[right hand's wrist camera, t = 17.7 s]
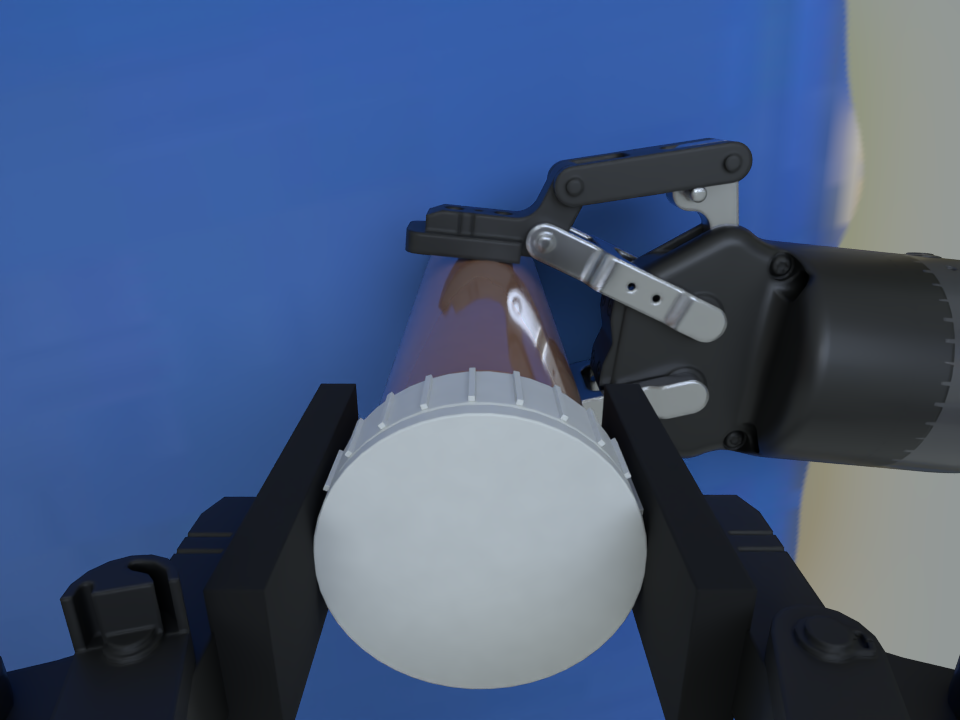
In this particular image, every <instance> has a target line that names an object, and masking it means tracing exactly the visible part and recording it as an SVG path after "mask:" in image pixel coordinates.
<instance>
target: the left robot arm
mask: <svg viewBox="0 0 960 720" xmlns="http://www.w3.org/2000/svg"><path fill="white" fill-rule="evenodd" d="M751 166H752V154H751V151H750V150H749V148H748V147H747V146H746V145H745V144H743V143H740V142H735V141H727V140H720V139H713V138H705V139H698V140H692V141H685V142H679V143H672V144H666V145H659V146H653V147H646V148H640V149H633V150H627V151H620V152H614V153H607V154H601V155H594V156H588V157H581V158H575V159H568V160H562V161H559V162H557V163H555V164H554V165H553V166H552V167H551V168H550V170H549V172H548V176H547V180H546V182H545V184H544V186H543V188H542V190H541V192H540V194H539V196H538V198H537V200H536V201H535V203H534V204H533V205H532V206H530V207H529V208H527V209H525V210H522V211H507V210H497V209H488V208H478V207H468V206H459V205H449V204H443V205H440V206H436V207H433V208H430V209H429V211H428V213H427V215H426V221H411V222H410V224H409V225H408V227H407V232H406V248H405V250H406V251H408V252H411V253H416V254H424V255H434V256H444V257H454V258H464V259H473V260H487V261H495V262H503V263H513V264H520V258H521V256H525V257H533V258H534V259H536V260H538V261H540V262H542V263H544V264H546V265H548V266H550V267H553V268H555V269H557V270H559V271H561V272H563V273H565V274H567V275H569V276H571V277H574V278H576V279H578V280H580V281H582V282H583V283H585V284H586V285H588V286H589V287H590V288H592V289H594V290H595V291H597V292H599V293H601V294H602V297H601V303H600V307H601V317H602V327H601V330H600V332H599V334H598V336H597V338H596V340H595V342H594V344H593V349H592V355H591V359H589V360H585V361H580V362H576V363H572V364H569V365H570V368H571V371H572V374H573V377H574V380H575V382H576V385H577V388H578V391H579V394H580V397H581V400H582V403H583V406H584V409H585V410H588V409H589V408H591V409H592V410H593V411H594V414H595V416H596V419H597V422H598V423H599V424H600V425H601V426H602V412H603V399H604V385H605V384H640V386H641V388H642V389H643V391H644V393H645V395H646V396H647V398H648V400H649V402H650V403H651V405H652V407H653V409H654V410H655V412H656V414H657V416H658V417H659V419H660V421H661V423H662V424H663V426H664V428H665V429H666V431H667V433H668V435H669V436H670V438H671V440H672V442H673V443H674V445H675V447H676V449H677V450H678V452H679V454H680V456H681V457H682V458H691V457H695V456H698V455H701V454H703V453H706V452H710V451H714V450H731V451H736V452H741V453H745V454H749V455H754V456H759V457H768V458H779V459H790V460H801V461H812V462H823V463H834V464H846V465H857V466H868V467H879V468H890V469H901V470H911V471H922V472H936V473H960V260H954V259H944V258H941V257H939V256H935V255H933V254H929V253H906V254H895V253H885V252H875V251H866V250H857V249H847V248H837V247H828V246H818V245H808V244H798V243H789V242H779V241H770V240H764V239H760V238H758V237H757V236H755V235H754V234H753V233H752V232H751V231H749V230H748V229H746V228H744V227H742V226H739V203H738V181H740V180H741V179H743V178H744V177H745V176H746V175H747V174H748V172H749V171H750V169H751ZM663 193H666V196H667V199H668V200H669V201H670V203H672V204H673V205H675V206H677V207H679V208H681V209H683V210H686V211H696V212H697V213H698V214H699V215H700V218H701V222H702V223H701V224H699V225H697V226H696V227H694V228H692V229H690V230H688V231H686V232H685V233H683V234H681V235H679V236H677V237H675V238H674V239H672V240H670V241H668V242H666V243H664V244H663V245H661V246H659V247H657V248H655V249H653V250H652V251H650V252H648V253H646V254H644V255H642V256H641V257H638V256H636V255H634V254H631V253H629V252H627V251H625V250H623V249H621V248H619V247H617V246H615V245H613V244H611V243H609V242H607V241H605V240H603V239H601V238H599V237H596V236H594V235H590V234H588V233H585V232H583V231H581V230H579V229H577V228H575V227H573V226H572V225H573V223H574V221H575V219H576V217H577V215H578V214H579V212H580V210H581V208H582V206H583V205H590V204H596V203H603V202H610V201H616V200H623V199H630V198H636V197H643V196H650V195H656V194H663ZM592 376H593V377H592Z"/></svg>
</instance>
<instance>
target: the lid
mask: <svg viewBox="0 0 960 720" xmlns="http://www.w3.org/2000/svg"><path fill="white" fill-rule="evenodd" d="M323 490H325V491H327V495H326V497H325V500H324V502H323V505H322V508H321V510H320V513H319V515H318V518H317V523H316V528H315V533H314V543H313V553H314V562H315V571H316V577H317V581H318V585H319V588H320V591H321V594H322V596H323V598H324V600H325V603H326V605H327V607H328V609H329V610H330V612H331V613H332V615H333V617H334V618H335V620H336V621H337V623H338V624H339V625H340V626H341V628H342V629H343V630H344V631H345V632H346V634H347V635H348V636H349V637H350V638H351V639H352V640H353V641H354V642H355V643H357V644H358V645H359V646H360V647H361V648H362V649H363V650H364V651H366V652H367V653H369V654H370V655H371V656H373V657H374V658H376V659H377V660H378V661H380V662H382V663H384V664H385V665H387V666H389V667H391V668H393V669H394V670H397V671H399V672H401V673H404V674H406V675H408V676H411V677H413V678H416V679H420V680H423V681H426V682H430V683H433V684H438V685H444V686H449V687H456V688H467V689H494V688H504V687H512V686H517V685H522V684H527V683H531V682H534V681H538V680H541V679H544V678H547V677H550V676H552V675H554V674H557V673H559V672H561V671H564V670H566V669H568V668H570V667H571V666H573V665H575V664H577V663H578V662H580V661H582V660H584V659H585V658H586V657H588V656H589V655H590V654H592V653H593V652H595V651H596V650H597V649H599V648H600V647H601V646H602V645H603V644H604V643H605V642H606V641H607V640H608V639H609V638H610V637H611V636H612V635H613V634H614V633H615V632H616V631H617V629H618V628H619V627H620V626H621V624H622V623H623V622H624V621H625V619H626V617H627V616H628V614H629V612H630V611H631V609H632V608H633V606H634V604H635V601H636V599H637V597H638V594H639V592H640V590H641V586H642V583H643V579H644V575H645V566H646V557H647V535H646V530H645V526H644V521H643V517H642V515H643V507H642V504H641V502H640V499H639V497H638V494H637V492H636V489H635V487H634V484H633V482H632V480H631V474H630V472H629V470H628V467H627V465H626V462H625V460H624V457H623V455H622V452H621V450H620V448H619V445H618V443H617V441H616V439H615V438H613V439H611V440H610V438H609V436H608V435H607V433H606V432H605V430H604V429H603V428H602V427H601V425H600V424H599V423H598V422H597V419H596V416H595V414H594V411H593V410H592V409H591V408H589V409H588V410H585V409H584V408H583V407H582V406H581V405H579V404H578V403H577V402H575V401H574V400H573V399H571V398H570V397H568V396H567V395H565V394H563V393H562V392H561V388H560V387H559V386H557V385H554V387H553V388H552V387H550V386H548V385H546V384H543V383H540V382H538V381H535V380H532V379H530V378H526V377H521V376H520V372H518V371H513V374H508V373H499V372H491V371H476V369H475V368H469V372H461V373H453V374H447V375H443V376H439V377H435V378H433V377H432V375H428V376H426V378H425V381H423V382H420V383H418V384H415V385H412V386H410V387H408V388H406V389H404V390H403V391H401V392H399V393H397V394H395V395H394V393H393V392H391V393H389V394H388V395H387V397H386V401H385V402H384V403H382V404H381V405H380V406H378V407H377V408H376V409H375V410H374V411H373V412H372V413H371V414H370V415H369V416H368V417H367V418H366V419H365V420H363V419H362V418H360V419H359V420H358V421H357V423H356V426H355V429H354V431H353V434H352V436H351V439H350V440H349V442H348V444H347V446H346V448H345V449H344V451H342V450H339V452H338V454H337V456H336V459H335V461H334V464H333V466H332V469H331V471H330V473H329V476H328V478H327V481H326V483H325V486H324V488H323Z"/></svg>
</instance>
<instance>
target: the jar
mask: <svg viewBox="0 0 960 720" xmlns="http://www.w3.org/2000/svg"><path fill="white" fill-rule="evenodd" d="M469 368H475V369H476V371H491V372H499V373H508V374H513V371H518V372H520V376H521V377H526V378H530V379H532V380H535V381H538V382H540V383H543V384H546V385H548V386H550V387H552V388H553V387H554V385H557V386H559V387H560V388H561V392H562V393H563V394H565V395H567V396H568V397H570V398H571V399H573V400H574V401H575V402H577V403H578V404H579V405H581V406H582V407H583V408H584V406H583V403H582V400H581V397H580V394H579V391H578V388H577V385H576V382H575V380H574V377H573V374H572V371H571V368H570V365H569V362H568V359H567V356H566V353H565V350H564V348H563V345H562V342H561V339H560V336H559V333H558V330H557V327H556V324H555V321H554V318H553V316H552V313H551V310H550V307H549V304H548V301H547V298H546V295H545V292H544V289H543V286H542V284H541V281H540V278H539V275H538V272H537V269H536V266H535V263H534V260H533V258H532V257H525V256H521V258H520V264H513V263H503V262H495V261H487V260H473V259H464V258H454V257H444V256H434V255H430V258H429V260H428V263H427V266H426V269H425V272H424V275H423V278H422V281H421V284H420V287H419V290H418V293H417V296H416V298H415V301H414V304H413V307H412V310H411V313H410V316H409V319H408V322H407V325H406V328H405V331H404V334H403V337H402V340H401V343H400V345H399V348H398V351H397V354H396V357H395V360H394V363H393V366H392V369H391V372H390V375H389V378H388V381H387V384H386V387H385V390H384V392H383V395H382V398H381V401H380V404H379V406H380V405H381V404H382V403H384V402H385V401H386V397H387V395H388V394H389V393H391V392H393V393H394V395H395V394H397V393H399V392H401V391H403V390H404V389H406V388H408V387H410V386H412V385H415V384H418V383H420V382H423V381H425V378H426V376H428V375H432V377H433V378H435V377H439V376H443V375H447V374H453V373H461V372H469Z"/></svg>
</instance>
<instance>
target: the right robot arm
mask: <svg viewBox="0 0 960 720" xmlns="http://www.w3.org/2000/svg"><path fill="white" fill-rule="evenodd" d="M357 421H358V407H357V393H356V384H321V385H320V387H319V388H318V390H317V392H316V394H315V395H314V397H313V399H312V401H311V402H310V404H309V406H308V408H307V409H306V411H305V413H304V415H303V416H302V418H301V420H300V421H299V423H298V425H297V427H296V428H295V430H294V432H293V434H292V435H291V437H290V439H289V441H288V442H287V444H286V446H285V448H284V449H283V451H282V453H281V455H280V456H279V458H278V460H277V462H276V463H275V465H274V467H273V469H272V470H271V472H270V474H269V476H268V477H267V479H266V481H265V483H264V484H263V486H262V488H261V490H260V491H259V493H258V495H257V497H224V498H222V499H221V500H220V501H218V502H217V503H215V504H214V505H213V506H211V507H210V508H209V509H207V510H206V511H204V512H203V513H202V514H201V515H200V517H199V518H198V519H197V521H196V522H195V524H194V525H193V527H192V528H191V530H190V531H189V533H188V537H185V538H184V540H183V541H182V543H181V544H180V546H179V547H178V549H177V553H176V554H174V555H173V556H172V558H171V559H170V560H169V559H168V558H164V557H160V556H155V555H135V556H128V557H125V558H121V559H117V560H113V561H109V562H107V563H105V564H103V565H101V566H99V567H96V568H94V569H92V570H90V571H88V572H87V573H85V574H84V575H83V576H81V577H80V578H79V579H77V580H76V581H75V582H73V583H72V584H71V585H70V586H69V587H68V589H67V590H66V591H65V593H64V594H63V596H62V597H61V598H60V601H61V605H62V608H63V612H64V615H65V619H66V622H67V626H68V629H69V633H70V636H71V640H72V643H73V647H74V650H75V654H74V655H73V656H70V657H67V658H63V659H60V660H57V661H52V662H48V663H44V664H40V665H35V666H31V667H27V668H23V669H18V670H14V671H10V672H6V669H5V666H4V663H3V660H2V658H1V656H0V720H295V718H296V714H297V711H298V708H299V704H300V701H301V698H302V694H303V691H304V688H305V684H306V681H307V678H308V675H309V671H310V668H311V665H312V661H313V658H314V655H315V651H316V648H317V645H318V641H319V638H320V635H321V631H322V628H323V625H324V621H325V618H326V615H327V612H328V607H327V605H326V603H325V600H324V598H323V596H322V594H321V591H320V588H319V585H318V581H317V577H316V571H315V562H314V553H313V543H314V533H315V528H316V523H317V518H318V515H319V513H320V510H321V508H322V505H323V502H324V500H325V497H326V495H327V491H325V490H323V488H324V486H325V483H326V481H327V478H328V476H329V473H330V471H331V469H332V466H333V464H334V461H335V459H336V456H337V454H338V452H339V450H342V451H344V449H345V448H346V446H347V444H348V442H349V440H350V439H351V436H352V434H353V431H354V429H355V426H356V423H357ZM601 427H602V428H603V429H604V430H605V432H606V433H607V435H608V436H609V438H610V440H611V439H613V438H615V439H616V441H617V443H618V445H619V448H620V450H621V452H622V455H623V457H624V460H625V462H626V465H627V467H628V470H629V472H630V474H631V480H632V482H633V484H634V487H635V489H636V492H637V494H638V497H639V499H640V502H641V504H642V507H643V515H642V517H643V521H644V526H645V530H646V535H647V557H646V566H645V575H644V579H643V583H642V586H641V590H640V592H639V594H638V597H637V599H636V601H635V604H634V606H633V608H632V610H633V614H634V617H635V620H636V623H637V627H638V630H639V633H640V637H641V640H642V643H643V647H644V650H645V653H646V657H647V660H648V663H649V667H650V670H651V673H652V677H653V680H654V683H655V686H656V690H657V693H658V696H659V700H660V703H661V706H662V710H663V713H664V716H665V720H733V719H735V720H960V656H959V659H958V662H957V665H956V668H955V670H954V669H949V668H945V667H941V666H937V665H932V664H928V663H923V662H919V661H915V660H911V659H907V658H903V657H899V656H896V655H893V654H890V653H886V652H885V651H884V649H883V648H882V646H881V645H880V643H879V642H878V640H877V638H876V637H875V636H874V635H873V634H872V633H871V632H870V631H868V630H867V629H866V628H865V627H864V626H862V625H861V624H860V623H859V622H857V621H855V620H854V619H851V618H850V617H848V616H846V615H844V614H842V613H840V612H838V611H835V610H832V609H828V608H825V606H824V605H823V603H822V602H821V600H820V599H819V598H818V596H817V595H816V593H815V592H814V590H813V589H812V587H811V586H810V585H809V583H808V582H807V580H806V579H805V577H804V576H803V574H802V573H801V571H800V570H799V569H798V567H797V566H796V564H795V563H794V561H793V560H792V558H791V557H790V555H789V554H788V553H787V552H785V551H784V547H783V545H782V544H781V542H780V541H779V539H778V538H777V537H776V535H773V531H772V529H771V528H770V526H769V525H768V523H767V522H766V521H765V519H764V518H763V516H762V515H761V513H760V512H759V511H758V510H756V509H755V508H754V507H752V506H751V505H749V504H748V503H747V502H745V501H744V500H743V499H741V498H740V497H738V496H737V495H703V494H702V492H701V491H700V489H699V487H698V485H697V484H696V482H695V480H694V478H693V477H692V475H691V473H690V471H689V470H688V468H687V466H686V464H685V463H684V461H683V459H682V457H681V456H680V454H679V452H678V450H677V449H676V447H675V445H674V443H673V442H672V440H671V438H670V436H669V435H668V433H667V431H666V429H665V428H664V426H663V424H662V423H661V421H660V419H659V417H658V416H657V414H656V412H655V410H654V409H653V407H652V405H651V403H650V402H649V400H648V398H647V396H646V395H645V393H644V391H643V389H642V388H641V386H640V384H605V385H604V399H603V412H602V426H601Z"/></svg>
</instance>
